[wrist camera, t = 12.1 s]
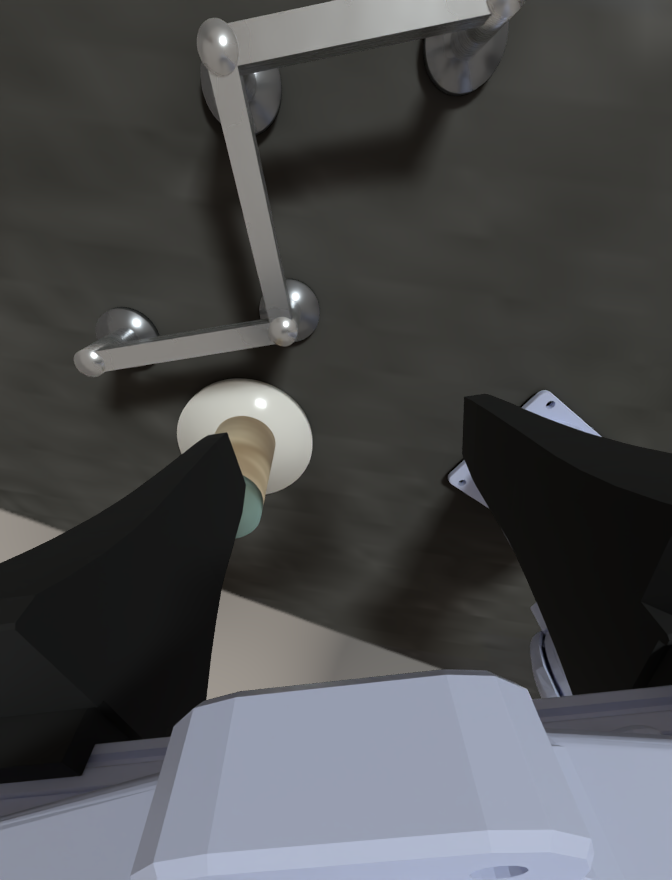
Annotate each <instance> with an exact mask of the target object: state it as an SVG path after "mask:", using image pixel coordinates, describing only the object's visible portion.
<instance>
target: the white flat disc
mask: <svg viewBox="0 0 672 880" xmlns="http://www.w3.org/2000/svg"><path fill="white" fill-rule="evenodd" d="M235 416H248V417H253V418H255V419H258V420H260V421H261V422H263V423H264V424H266V425H267V426H268V427H269V428H270V430H271V431H272V433H273V435H274V437H275V443H276V445H275V451H274V456H273V461H272V466H271V470H270V475H269V480H268V485H267V490H266V494H270V493H273V492H277V491H279V490H282V489H284V488H286V487H287V486H289V485H291V484H292V483H293V482H295V481H296V480H297V479H298V478H299V477H300V476H301V475H302V473H303V472H304V471H305V469H306V467H307V465H308V463H309V461H310V458H311V453H312V430H311V427H310V423H309V421H308V419H307V416H306V415H305V413H304V411H303V410H302V408H301V407H300V406H299V405H298V404H297V402H296V401H295V400H293V399H292V398H291V397H290V396H289V395H288V394H286V393H285V392H283V391H282V390H280V389H278V388H277V387H275V386H273V385H270V384H268V383H265V382H262V381H258V380H253V379H246V378H234V379H226V380H221V381H218V382H215V383H212V384H210V385H208V386H206V387H204V388H203V389H201V390H200V391H199V392H197V393H196V394H195V395H194V396H193V397H192V398H191V399H190V401H189V402H188V404H187V405H186V406H185V408H184V409H183V411H182V413H181V415H180V418H179V421H178V426H177V440H178V445H179V448H180V451H181V454H183V453H184V452H185V451H187V450H188V449H189V448H190V447H192V446H193V445H194V444H196V443H197V442H198V441H200V440H201V439H202V438H204V437H206V436H207V435H212V434H215V432H216V430H217V428H218V427H219V425H220V424H221V423H222V422H224V421H225V420H227V419H229V418H231V417H235Z"/></svg>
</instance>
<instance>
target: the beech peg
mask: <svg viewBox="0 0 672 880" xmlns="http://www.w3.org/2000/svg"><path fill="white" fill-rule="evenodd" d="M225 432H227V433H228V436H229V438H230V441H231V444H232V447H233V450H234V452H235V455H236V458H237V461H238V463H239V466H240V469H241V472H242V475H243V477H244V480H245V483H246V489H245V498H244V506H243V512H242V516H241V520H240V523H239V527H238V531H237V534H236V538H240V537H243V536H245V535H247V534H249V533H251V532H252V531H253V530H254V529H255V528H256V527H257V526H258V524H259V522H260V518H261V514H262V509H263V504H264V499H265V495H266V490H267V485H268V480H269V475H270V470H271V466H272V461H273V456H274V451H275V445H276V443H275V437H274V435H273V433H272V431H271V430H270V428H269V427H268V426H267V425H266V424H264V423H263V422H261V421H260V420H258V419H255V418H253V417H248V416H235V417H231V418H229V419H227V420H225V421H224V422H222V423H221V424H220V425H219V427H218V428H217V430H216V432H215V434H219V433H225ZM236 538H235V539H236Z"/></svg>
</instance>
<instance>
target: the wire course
mask: <svg viewBox="0 0 672 880" xmlns="http://www.w3.org/2000/svg"><path fill="white" fill-rule="evenodd" d="M524 2H525V0H335V1H331V2H326V3H321V4H316V5H312V6H307V7H302V8H298V9H293V10H288V11H283V12H279V13H274V14H269V15H265V16H260V17H255V18H250V19H246V20H241V21H236V22H232V23H226V22H224V21H223V20H221V19H218V18H210V19H208V20H206V21H205V22H204V23H203V24H202V25H201V27H200V29H199V31H198V35H197V49H198V53H199V56H200V58H201V60H202V61H201V68H200V78H201V86H202V91H203V94H204V98H205V100H206V103H207V105H208V107H209V109H210V111H211V112H212V114H213V115H214V116H215V118H216V119H217V120H218V121H219V122H220V123H221V125H222V129H223V133H224V137H225V141H226V146H227V150H228V154H229V158H230V162H231V166H232V170H233V174H234V178H235V182H236V186H237V191H238V195H239V199H240V203H241V207H242V211H243V215H244V219H245V223H246V227H247V232H248V236H249V240H250V244H251V248H252V252H253V256H254V260H255V264H256V268H257V273H258V277H259V281H260V285H261V289H262V293H263V296H262V298H261V301H260V306H259V312H260V318H261V319H260V320H254V321H248V322H242V323H236V324H230V325H224V326H218V327H212V328H206V329H200V330H194V331H188V332H182V333H176V334H170V335H164V336H159V333H158V331H157V329H156V327H155V326H154V324H153V323H152V322H151V321H150V320H149V318H147V317H146V316H145V315H144V314H142V313H141V312H139V311H137V310H134V309H131V308H127V307H117V308H113V309H111V310H109V311H107V312H105V313H103V314H102V315H101V316H100V318H99V319H98V321H97V324H96V337H97V340H98V341H96V342H94V343H92V344H91V345H89V346H87V347H85V348H84V349H82V350H80V351H78V352H77V353H76V354H75V356H74V363H75V366H76V367H77V369H78V370H79V371H80V372H81V373H83V374H84V375H87V376H90V377H97V376H100V375H101V374H103V373H104V372H105V371H112V370H118V369H124V368H130V367H141V366H145V365H149V364H155V363H161V362H167V361H174V360H180V359H186V358H192V357H198V356H205V355H211V354H217V353H223V352H229V351H236V350H242V349H248V348H254V347H260V346H267V345H273V344H276V345H279V346H289V345H291V344H292V343H293V342H297V341H300V340H303V339H305V338H307V337H308V336H309V335H310V334H312V332H313V331H314V330H315V328H316V327H317V324H318V321H319V316H320V307H319V302H318V299H317V297H316V295H315V293H314V292H313V291H312V289H311V288H310V287H309V286H307V285H306V284H305V283H303V282H301V281H299V280H296V279H285V274H284V270H283V265H282V260H281V255H280V250H279V246H278V241H277V236H276V231H275V227H274V222H273V217H272V212H271V207H270V203H269V198H268V193H267V188H266V183H265V179H264V174H263V169H262V164H261V160H260V155H259V150H258V145H257V140H256V136H255V135H258V134H260V133H262V132H264V131H265V130H267V129H268V128H269V127H270V126H271V124H272V123H273V122H274V120H275V118H276V116H277V114H278V111H279V108H280V104H281V97H282V85H281V78H280V73H279V70H278V68H281V67H286V66H291V65H296V64H301V63H305V62H310V61H315V60H320V59H325V58H330V57H335V56H340V55H345V54H350V53H355V52H359V51H364V50H369V49H374V48H379V47H384V46H389V45H394V44H399V43H404V42H409V41H413V40H418V39H423V38H424V43H423V54H424V62H425V66H426V70H427V73H428V75H429V77H430V79H431V81H432V82H433V83H434V85H435V86H436V87H437V88H438V89H439V90H441V91H442V92H444V93H446V94H448V95H452V96H461V95H465V94H468V93H470V92H472V91H474V90H476V89H477V88H478V87H480V86H481V85H482V84H483V83H484V82H486V81H487V80H488V78H489V77H490V76H491V75H492V74H493V72H494V71H495V69H496V68H497V66H498V64H499V62H500V60H501V58H502V56H503V53H504V50H505V47H506V42H507V38H508V26H509V20H510V19H511V18H512V17H513V15H514V14H515V13H516V12H517V11H518V10H519V9H520V8H521V7H522V5H523V4H524Z"/></svg>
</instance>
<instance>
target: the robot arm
mask: <svg viewBox="0 0 672 880" xmlns="http://www.w3.org/2000/svg"><path fill="white" fill-rule="evenodd" d="M550 401H552V402H551V404H550V405H548V406H546V404H547V403H548V402H550ZM462 454H463V457H464V460H463V461H462V462H461V463H460V464H459V465H458V466H457V467H456V468H455V469H454V470H452V471H451V472H450V473H449V475H448V480H449V482H450V483H451V484H452V485H453V486H455V487H456V488H458V489H460V490H461V491H463V492H464V493H466V494H467V495H469V496H470V497H472V498H474V499H475V500H477V501H478V502H480V503H481V504H483V505H484V506H486V507H488V508H489V509H490V511H491V512H492V514H493V516H494V517H495V519H496V521H497V522H498V524H499V526H500V527H501V529H502V531H503V533H504V534H505V536H506V538H507V540H508V542H509V543H510V545H511V547H512V549H513V551H514V552H515V554H516V557H517V559H518V561H519V563H520V566H521V568H522V570H523V572H524V574H525V577H526V579H527V581H528V583H529V586H530V588H531V590H532V593H533V595H534V597H535V600H536V603H535V604H534V605H533V606H531V610H532V612H533V614H534V616H535V618H536V620H537V622H538V624H539V626H540V628H541V631H540V632H538V633H536V634H535V635H534V637H533V638H532V641H531V643H530V655H531V662H532V668H533V674H534V678H535V682H536V685H537V688H538V690H539V693H540V695H541V698H542V699H531V697H530V694H529V692H528V690H527V689H526V688H524V687H522V686H520V685H518V684H516V683H515V682H512V681H510V680H507V679H505V678H503V677H500V676H498V675H496V674H493V673H491V672H489V671H486V670H451V669H442V670H432V671H424V672H414V673H405V674H396V675H386V676H378V677H369V678H360V679H349V680H340V681H332V682H322V683H313V684H303V685H294V686H285V687H276V688H267V689H258V690H249V691H240V692H236V693H232V694H228V695H224V696H220V697H217V698H213V699H209V700H206V697H207V688H208V679H209V670H210V661H211V653H212V646H213V639H214V632H215V625H216V619H217V613H218V607H219V600H220V594H221V589H222V585H223V581H224V576H225V573H226V569H227V566H228V562H229V559H230V555H231V552H232V548H233V545H234V541H235V538H236V534H237V531H238V527H239V523H240V520H241V516H242V512H243V506H244V498H245V489H246V483H245V480H244V477H243V475H242V472H241V469H240V466H239V463H238V461H237V458H236V455H235V452H234V450H233V447H232V444H231V441H230V438H229V436H228V433H227V432H225V433H219V434H212V435H207V436H206V437H204V438H202V439H201V440H200V441H198V442H197V443H196V444H194V445H193V446H192V447H190V448H189V449H188V450H187V451H185V452H184V453H183V454H182V455H180V456H179V457H178V458H177V459H175V460H174V461H173V462H171V463H170V464H169V465H168V466H166V467H165V468H164V469H163V470H161V471H160V472H159V473H157V474H156V475H155V476H153V477H152V478H151V479H149V480H148V481H147V482H145V483H144V484H143V485H141V486H140V487H138V488H137V489H136V490H134V491H133V492H132V493H130V494H129V495H127V496H126V497H124V498H123V499H121V500H120V501H118V502H117V503H115V504H113V505H112V506H110V507H109V508H107V509H105V510H104V511H102V512H101V513H99V514H97V515H96V516H94V517H92V518H90V519H89V520H87V521H85V522H83V523H81V524H79V525H77V526H76V527H74V528H72V529H70V530H68V531H66V532H65V533H63V534H61V535H59V536H57V537H55V538H53V539H52V540H49V541H47V542H45V543H43V544H41V545H39V546H37V547H35V548H33V549H31V550H29V551H26V552H24V553H22V554H20V555H18V556H15V557H13V558H11V559H9V560H7V561H4V562H2V563H0V880H672V454H671V453H666V452H662V451H657V450H652V449H647V448H642V447H638V446H634V445H630V444H626V443H622V442H618V441H614V440H611V439H607V438H604V437H601V436H600V435H599V434H598V433H597V432H595V431H594V430H593V429H592V428H591V427H590V426H589V425H587V424H586V423H585V422H584V421H583V420H582V419H581V418H579V417H578V416H577V415H576V414H575V413H574V412H572V411H571V410H570V409H569V408H568V407H567V406H566V405H564V404H563V403H562V402H561V401H560V400H559V399H558V398H556V397H555V396H554V395H553V394H552V393H551V392H549V391H547V390H542V391H539V392H538V393H537V394H536V395H534V396H533V397H532V398H531V399H530V400H529V401H528V402H527V403H526V404H525V405H524V406H522V407H518V406H516V405H514V404H511V403H509V402H507V401H504V400H502V399H499V398H497V397H494V396H491V395H488V394H481V395H474V396H467V397H464V420H463V448H462ZM461 480H464V481H462V482H459V481H461Z"/></svg>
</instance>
